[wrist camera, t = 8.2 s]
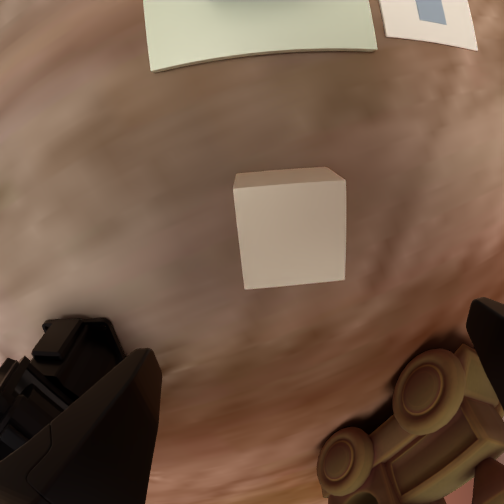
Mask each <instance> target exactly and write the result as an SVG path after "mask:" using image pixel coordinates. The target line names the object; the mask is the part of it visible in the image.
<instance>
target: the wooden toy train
mask: <svg viewBox="0 0 504 504" xmlns="http://www.w3.org/2000/svg"><path fill="white" fill-rule="evenodd" d="M392 407H393V411H394V414H393V415H392V416H391V417H390V418H389V419H388V420H386V421H385V422H384V423H383V424H382V425H381V426H379V427H378V428H377V429H376V430H375V431H373V432H372V433H371V434H370V435H368V434H366V433H365V432H364V431H363V430H362V429H360V428H357V427H348V428H344V429H341V430H339V431H337V432H336V433H334V434H333V435H332V436H331V437H330V438H329V439H328V440H327V441H326V443H325V444H324V446H323V448H322V449H321V452H320V455H319V457H318V462H317V476H318V479H319V482H320V485H321V487H322V493H323V498H329V499H328V504H446V502H445V500H444V497H445V496H447V495H448V494H450V493H452V492H453V491H455V490H456V489H458V488H460V487H461V486H462V485H464V484H465V483H467V482H468V481H469V480H471V479H472V478H473V477H474V488H473V498H472V504H504V465H503V464H501V463H499V462H498V461H496V459H497V458H498V457H499V456H500V455H501V454H502V453H503V452H504V422H503V420H502V418H503V416H504V411H503V408H502V406H501V404H500V402H499V400H498V398H497V396H496V394H495V392H494V390H493V388H492V386H491V384H490V382H489V380H488V378H487V376H486V374H485V371H484V369H483V367H482V365H481V362H480V360H479V357H478V355H477V352H476V350H474V349H473V348H471V347H469V346H467V345H466V344H464V343H463V344H462V345H461V346H460V347H459V348H458V349H457V351H456V352H455V353H454V354H453V353H452V352H451V351H448V350H445V349H442V348H440V349H432V350H428V351H425V352H423V353H421V354H419V355H417V356H416V357H415V358H414V359H413V360H411V361H410V362H409V363H408V364H407V366H406V367H405V368H404V370H403V371H402V372H401V374H400V377H399V379H398V381H397V383H396V386H395V389H394V393H393V405H392Z"/></svg>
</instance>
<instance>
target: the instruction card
mask: <svg viewBox="0 0 504 504" xmlns="http://www.w3.org/2000/svg"><path fill="white" fill-rule="evenodd" d="M378 1H379V5H380V10H381V15H382V20H383V25H384V31H385V36H386V37H390V38H400V39H409V40H417V41H424V42H431V43H437V44H443V45H449V46H454V47H459V48H464V49H468V50H473V51H478V48H477V42H476V37H475V32H474V27H473V22H472V17H471V13H470V9H469V5H468V1H467V0H378Z"/></svg>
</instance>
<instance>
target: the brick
mask: <svg viewBox="0 0 504 504" xmlns="http://www.w3.org/2000/svg"><path fill="white" fill-rule="evenodd" d="M233 195H234V204H235V213H236V221H237V230H238V238H239V247H240V255H241V264H242V272H243V281H244V289H245V290H246V289H258V288H269V287H280V286H291V285H301V284H311V283H321V282H330V281H340V280H345V262H346V180H345V179H343V178H342V177H341V176H339V175H338V174H336V173H335V172H333V171H332V170H331V169H329V168H328V167H311V168H296V169H282V170H269V171H258V172H247V173H237V174H236V176H235V181H234V186H233Z"/></svg>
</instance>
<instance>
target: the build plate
mask: <svg viewBox="0 0 504 504" xmlns="http://www.w3.org/2000/svg"><path fill="white" fill-rule="evenodd" d="M143 3H144V15H145V25H146V35H147V44H148V52H149V61H150V69H151V71H152V72H154V73H157V72H161V71H165V70H170V69H174V68H179V67H184V66H189V65H194V64H200V63H205V62H211V61H217V60H224V59H231V58H238V57H246V56H255V55H265V54H276V53H290V52H310V51H364V52H373V51H375V50H378V49H377V43H376V37H375V31H374V26H373V20H372V15H371V10H370V5H369V1H368V0H143Z"/></svg>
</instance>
